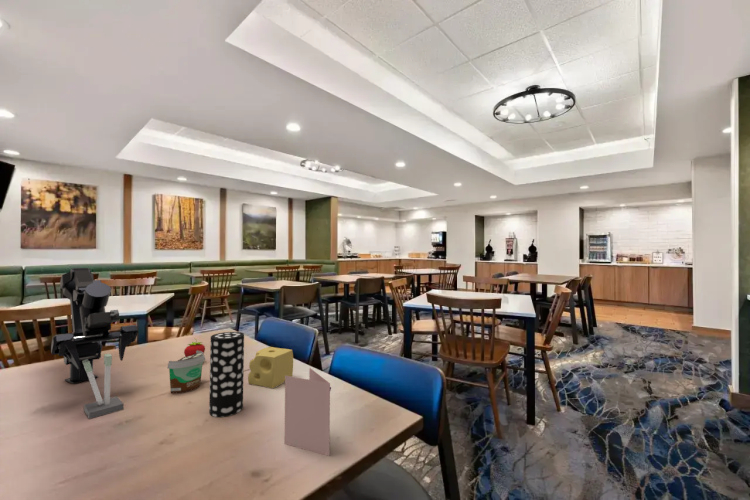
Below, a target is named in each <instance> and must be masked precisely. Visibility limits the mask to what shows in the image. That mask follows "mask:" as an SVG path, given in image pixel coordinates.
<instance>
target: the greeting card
mask: <svg viewBox="0 0 750 500" xmlns="http://www.w3.org/2000/svg"><path fill="white" fill-rule="evenodd" d="M308 376H309V378H308V379H306V378H303V377H302V378H301V377H297V376H296V377H295V376H292V377H291V376H285V382H284V386H285V387H284V438H283V439H284V441H283V444H284V445H289V446H291V447H294V448H299V449H302V450H303V449H304V450H306V451H309V452H314V453H317V454H321V455H324V456H328V457H329V456H330V433H331V431H330V428H331V427H330V426H331V425H330V423H331V421H330V420H331V419H330V418H331V416H330V415H331V413H330V412H331V409H330V408H331V407H330V406H331V391H332V390H331V389H332V387H331V383H330V382H329V381H328V380H326V379H325V378H324V377H322V376H321V375H320V374H318V373H317V372H316V371H315V370H314V369H312V368H311V367H309V373H308Z"/></svg>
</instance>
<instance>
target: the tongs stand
mask: <svg viewBox="0 0 750 500" xmlns="http://www.w3.org/2000/svg"><path fill="white" fill-rule="evenodd" d="M112 359H113V355H111V353H106V354H103V365H104V382H103V384H104V385H103V399H102V401H103V404H102V405H100V406H99V405H98V404H97V401H93V402H90V403H86V404H84V405H83V411H84V414H86V416H87V418H88V420H91V419H95V418H97V417H102V416H104V415H105V416H106V415H108V414H113V413H115V412H119V411H123V410H124V403H123V401H122V400H121V399H120V398H119V397H118V396H114V397H111V375H112V374H111V371H112V368H111V367H112V364H113V363H112V361H113V360H112Z"/></svg>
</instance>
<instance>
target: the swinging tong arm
mask: <svg viewBox="0 0 750 500" xmlns="http://www.w3.org/2000/svg"><path fill="white" fill-rule="evenodd" d="M82 363H83V365H84V368H85V371H86V372H87V375H88V378H89V380H88V381H89V384H90V386H91V389H92V392H93V396H94V397H95V402H97V404H98V405H99V406H100V405H102V404H103V401H102V400H103V397H102V396H101V393H100V389H99V387H98V384H97V380H96V378H95V377H94V375H95V374H94V369H93V370H92V367H91V364H90V361H89V360H88V359H86V360H84V361H82ZM92 371H93V372H92Z"/></svg>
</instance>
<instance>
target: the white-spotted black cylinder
mask: <svg viewBox="0 0 750 500" xmlns="http://www.w3.org/2000/svg"><path fill="white" fill-rule="evenodd" d="M209 343H210V348H209V349H210V352H209V354H210V356H209V357H210V360H209V402H208V403H209V405H208V406H209V407H208V408H209V409H208V410H209V411H208V412H209V415H210V416H212V417H215V418H225V417H230V416H233V415H236V414H238V413H240V412H241V411H242V410H243V408H244V378H245V377H244V375H245V374H244V372H245V371H244V370H245V368H244V366H245V365H244V363H245V360H244V359H245V333H244V332H240V331H226V332H225V331H224V332H219V333H215V334H212V335H210V342H209Z"/></svg>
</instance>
